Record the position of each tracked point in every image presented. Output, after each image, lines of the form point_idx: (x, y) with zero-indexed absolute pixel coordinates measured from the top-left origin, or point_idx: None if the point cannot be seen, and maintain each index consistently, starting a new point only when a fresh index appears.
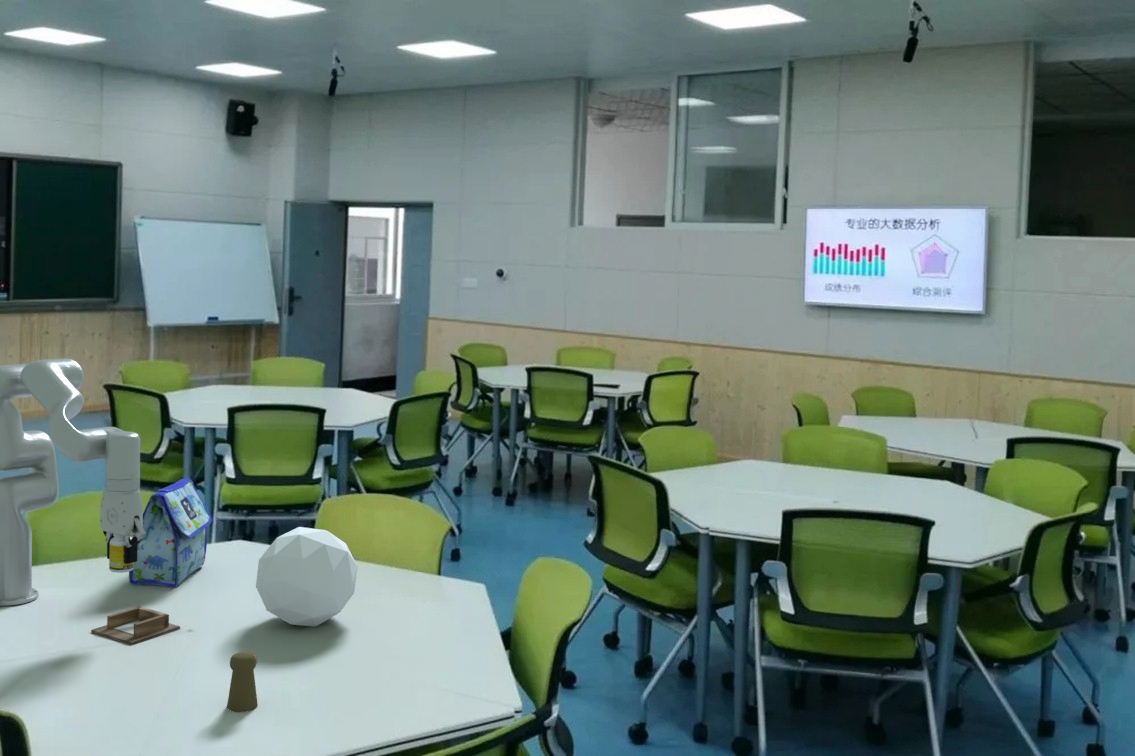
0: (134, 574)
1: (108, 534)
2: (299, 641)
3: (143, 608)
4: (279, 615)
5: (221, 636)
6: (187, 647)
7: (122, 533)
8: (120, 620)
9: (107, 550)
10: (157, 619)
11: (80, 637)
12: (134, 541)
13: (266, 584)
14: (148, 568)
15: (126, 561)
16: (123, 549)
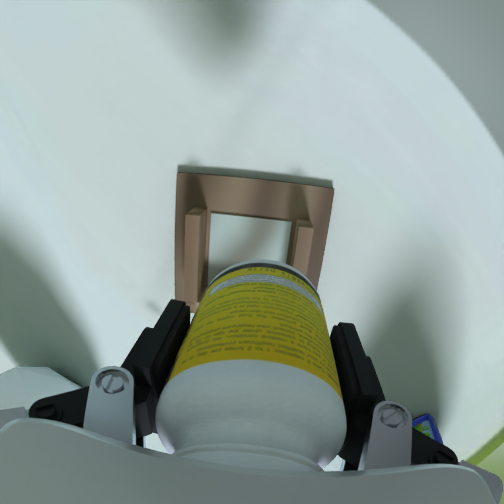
0: (428, 428)
1: (385, 454)
2: (19, 330)
3: None
4: (48, 372)
5: (90, 305)
6: (84, 228)
7: (44, 433)
8: (293, 252)
9: (360, 354)
10: (185, 277)
11: (328, 147)
12: (52, 400)
13: (18, 397)
14: None
15: (167, 308)
16: (177, 362)
